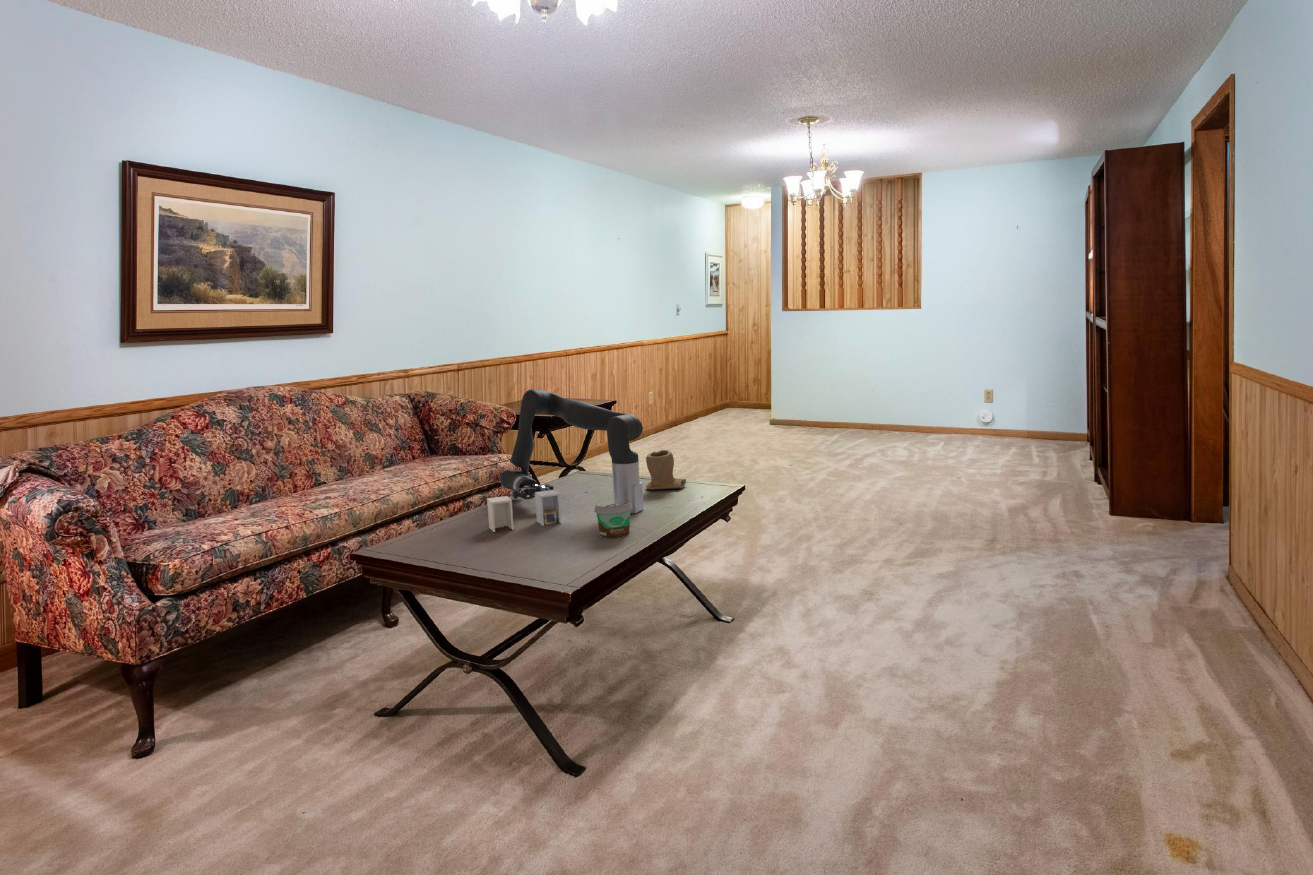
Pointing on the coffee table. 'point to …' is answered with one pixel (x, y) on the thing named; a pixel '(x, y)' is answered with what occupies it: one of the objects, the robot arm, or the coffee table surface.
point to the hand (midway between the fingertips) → (537, 494)
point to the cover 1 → (500, 512)
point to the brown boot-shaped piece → (662, 471)
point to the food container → (614, 520)
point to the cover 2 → (547, 504)
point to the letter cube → (549, 516)
